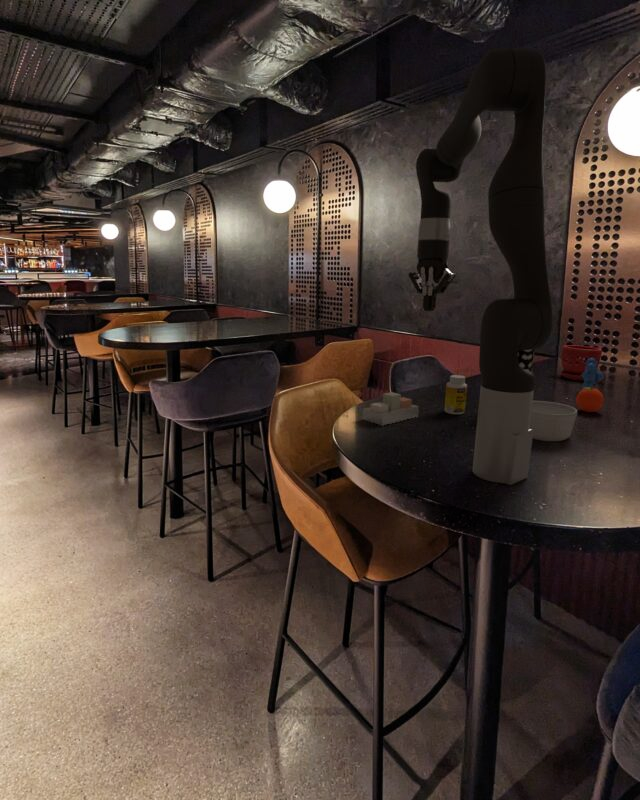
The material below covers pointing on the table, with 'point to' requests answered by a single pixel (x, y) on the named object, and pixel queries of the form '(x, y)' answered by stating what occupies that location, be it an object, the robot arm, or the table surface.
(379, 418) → the keypad frame
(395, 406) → the key sage
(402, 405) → the key terracotta
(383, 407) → the key ivory
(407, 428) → the table surface
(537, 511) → the table surface
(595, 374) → the grapes
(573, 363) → the plant pot
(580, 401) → the clementine
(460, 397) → the supplement bottle
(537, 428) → the ramekin
